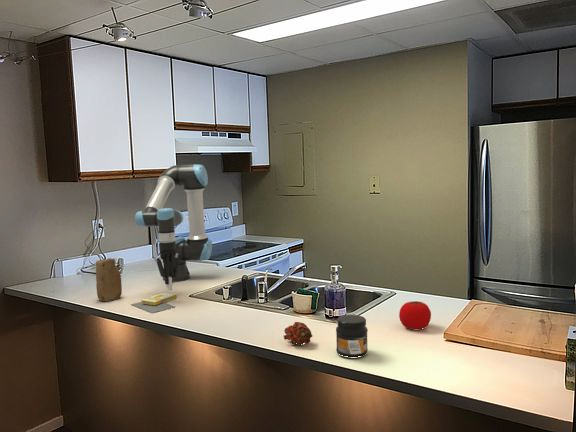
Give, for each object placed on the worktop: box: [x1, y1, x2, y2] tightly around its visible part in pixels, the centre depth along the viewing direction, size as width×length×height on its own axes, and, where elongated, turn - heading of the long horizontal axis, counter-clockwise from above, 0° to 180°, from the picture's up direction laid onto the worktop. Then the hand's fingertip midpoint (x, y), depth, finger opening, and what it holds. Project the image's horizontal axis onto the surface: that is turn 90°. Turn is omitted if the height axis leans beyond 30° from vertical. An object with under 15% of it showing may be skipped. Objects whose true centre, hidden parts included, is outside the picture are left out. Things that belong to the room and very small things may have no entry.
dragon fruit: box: [283, 321, 313, 346], centre depth 175 cm, size 8×8×12 cm
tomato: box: [398, 300, 432, 330], centre depth 188 cm, size 12×12×10 cm
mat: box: [130, 301, 176, 314], centre depth 227 cm, size 12×20×1 cm, turn 44°
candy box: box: [140, 292, 178, 306], centre depth 234 cm, size 16×2×8 cm
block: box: [95, 258, 123, 302], centre depth 239 cm, size 11×8×20 cm
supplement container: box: [335, 314, 369, 357], centre depth 164 cm, size 10×10×12 cm
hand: (169, 290), depth 232 cm, fingers closed
